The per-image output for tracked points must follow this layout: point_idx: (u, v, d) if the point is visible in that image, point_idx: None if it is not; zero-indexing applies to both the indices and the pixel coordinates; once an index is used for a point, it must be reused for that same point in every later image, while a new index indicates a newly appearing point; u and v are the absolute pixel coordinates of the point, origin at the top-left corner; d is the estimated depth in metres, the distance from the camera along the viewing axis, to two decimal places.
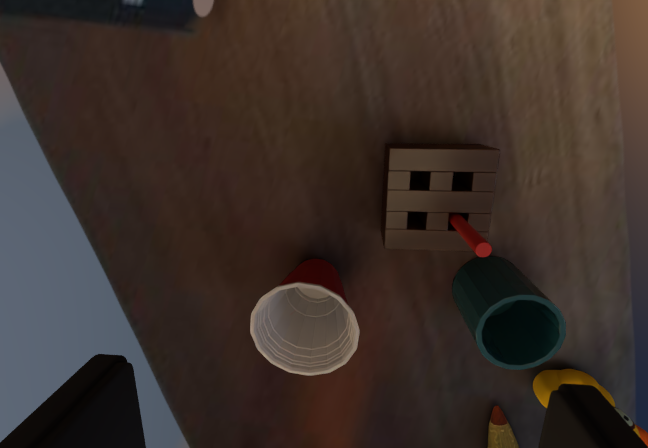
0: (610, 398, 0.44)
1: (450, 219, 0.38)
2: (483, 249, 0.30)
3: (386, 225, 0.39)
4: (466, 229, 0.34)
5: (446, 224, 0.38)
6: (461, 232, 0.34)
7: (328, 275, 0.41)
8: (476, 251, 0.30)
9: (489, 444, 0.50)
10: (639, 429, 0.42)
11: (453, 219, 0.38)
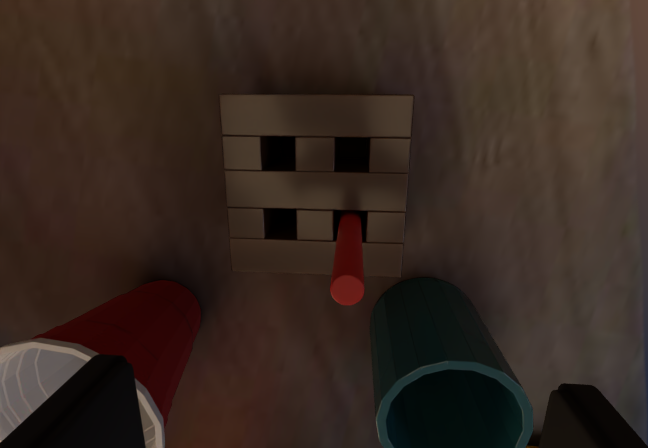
0: None
1: (339, 221, 0.22)
2: (346, 289, 0.14)
3: (230, 232, 0.22)
4: (341, 242, 0.18)
5: (330, 230, 0.22)
6: None
7: (147, 314, 0.25)
8: (332, 293, 0.14)
9: None
10: None
11: (339, 222, 0.21)
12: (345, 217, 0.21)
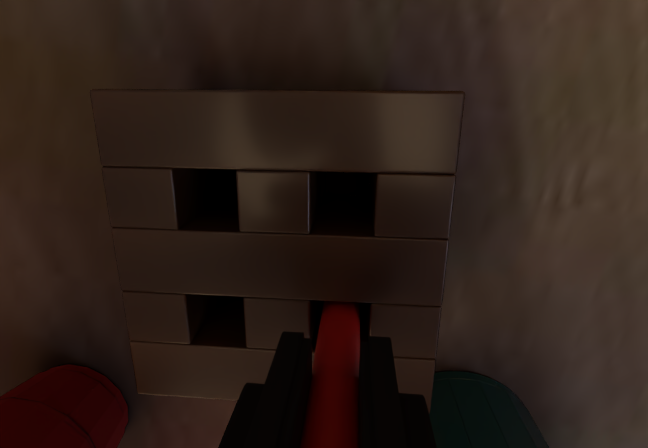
0: None
1: (321, 316, 0.13)
2: None
3: (130, 332, 0.13)
4: (313, 414, 0.08)
5: (304, 334, 0.12)
6: None
7: None
8: None
9: None
10: None
11: (321, 325, 0.12)
12: (331, 315, 0.12)
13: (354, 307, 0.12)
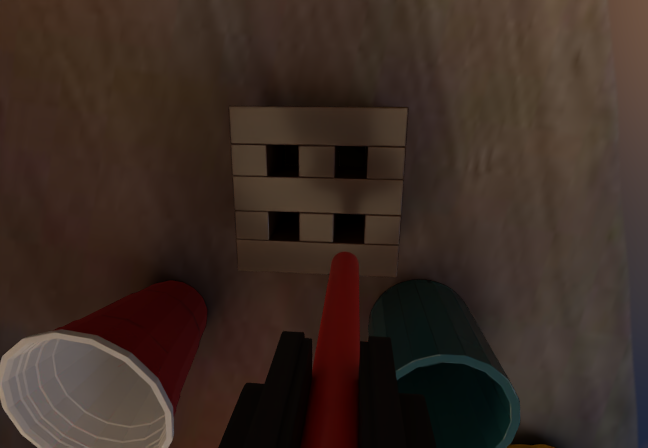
0: None
1: (321, 319, 0.13)
2: None
3: (237, 233, 0.24)
4: (313, 414, 0.08)
5: (330, 232, 0.23)
6: None
7: (157, 310, 0.26)
8: None
9: None
10: None
11: (321, 327, 0.12)
12: (331, 318, 0.12)
13: (354, 310, 0.13)
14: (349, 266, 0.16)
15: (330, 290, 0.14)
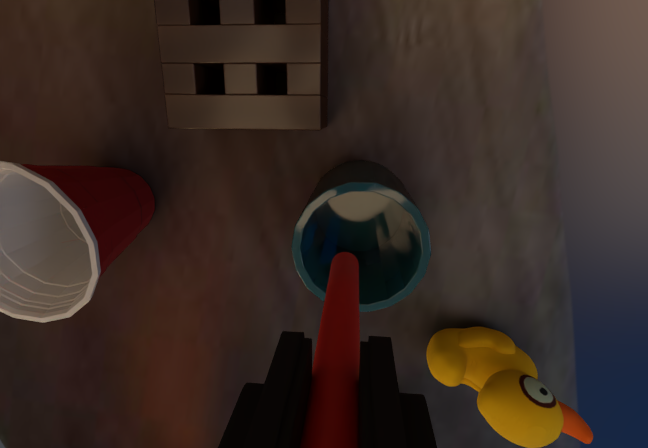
0: (530, 366, 0.30)
1: (321, 320, 0.13)
2: None
3: (165, 88, 0.25)
4: (313, 415, 0.08)
5: (254, 83, 0.24)
6: None
7: (93, 174, 0.27)
8: None
9: None
10: (566, 409, 0.28)
11: (321, 328, 0.12)
12: (330, 318, 0.12)
13: (354, 311, 0.13)
14: (348, 266, 0.16)
15: (330, 290, 0.14)
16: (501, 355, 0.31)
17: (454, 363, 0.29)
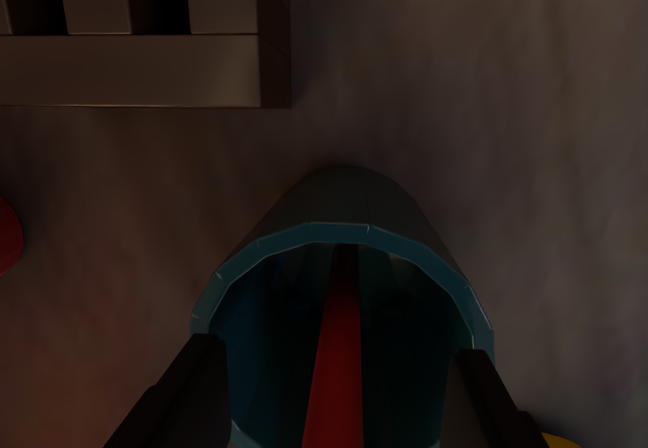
0: None
1: (325, 301, 0.14)
2: None
3: None
4: (321, 374, 0.09)
5: (124, 11, 0.12)
6: (313, 376, 0.10)
7: None
8: None
9: None
10: None
11: (325, 307, 0.13)
12: (334, 298, 0.13)
13: (354, 292, 0.14)
14: (349, 254, 0.17)
15: (332, 275, 0.15)
16: None
17: None
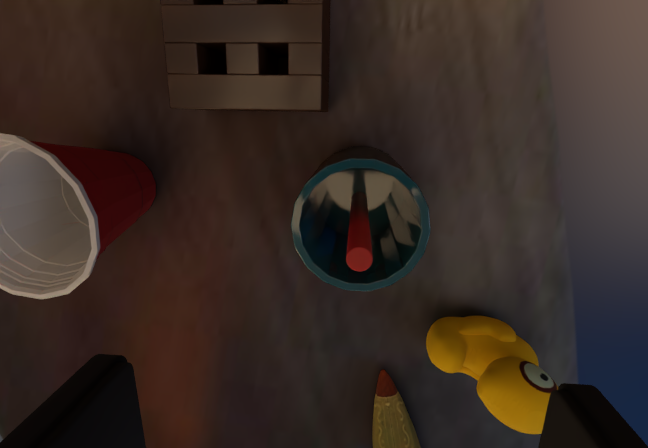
0: (531, 354, 0.30)
1: (350, 214, 0.26)
2: (358, 258, 0.18)
3: (167, 67, 0.25)
4: (353, 226, 0.22)
5: (256, 63, 0.24)
6: (348, 231, 0.22)
7: (95, 154, 0.27)
8: (348, 261, 0.18)
9: (373, 424, 0.35)
10: None
11: (350, 214, 0.26)
12: (355, 209, 0.26)
13: (365, 209, 0.26)
14: (361, 196, 0.30)
15: (353, 204, 0.28)
16: (502, 343, 0.30)
17: (454, 349, 0.29)
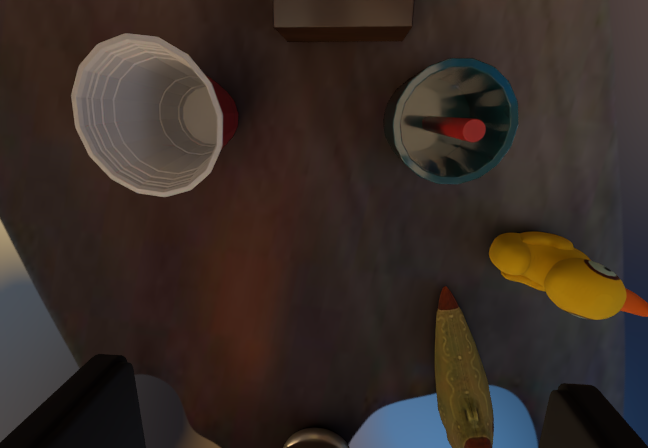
0: (588, 259, 0.33)
1: (433, 124, 0.29)
2: (473, 129, 0.21)
3: None
4: (451, 119, 0.25)
5: None
6: (445, 126, 0.25)
7: None
8: (463, 133, 0.21)
9: (436, 337, 0.39)
10: (626, 289, 0.31)
11: (436, 121, 0.29)
12: (440, 117, 0.29)
13: None
14: None
15: (432, 118, 0.31)
16: (561, 250, 0.33)
17: (521, 252, 0.32)
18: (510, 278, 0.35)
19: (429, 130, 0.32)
